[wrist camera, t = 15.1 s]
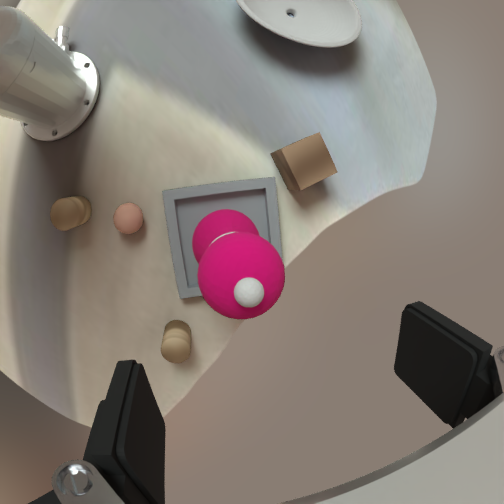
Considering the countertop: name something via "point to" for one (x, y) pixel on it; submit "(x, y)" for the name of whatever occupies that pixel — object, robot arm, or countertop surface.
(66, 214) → the cork
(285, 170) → the walnut block
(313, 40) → the dish
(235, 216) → the pepper mill
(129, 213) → the ball
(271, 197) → the tray
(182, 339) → the cork
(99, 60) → the countertop surface
